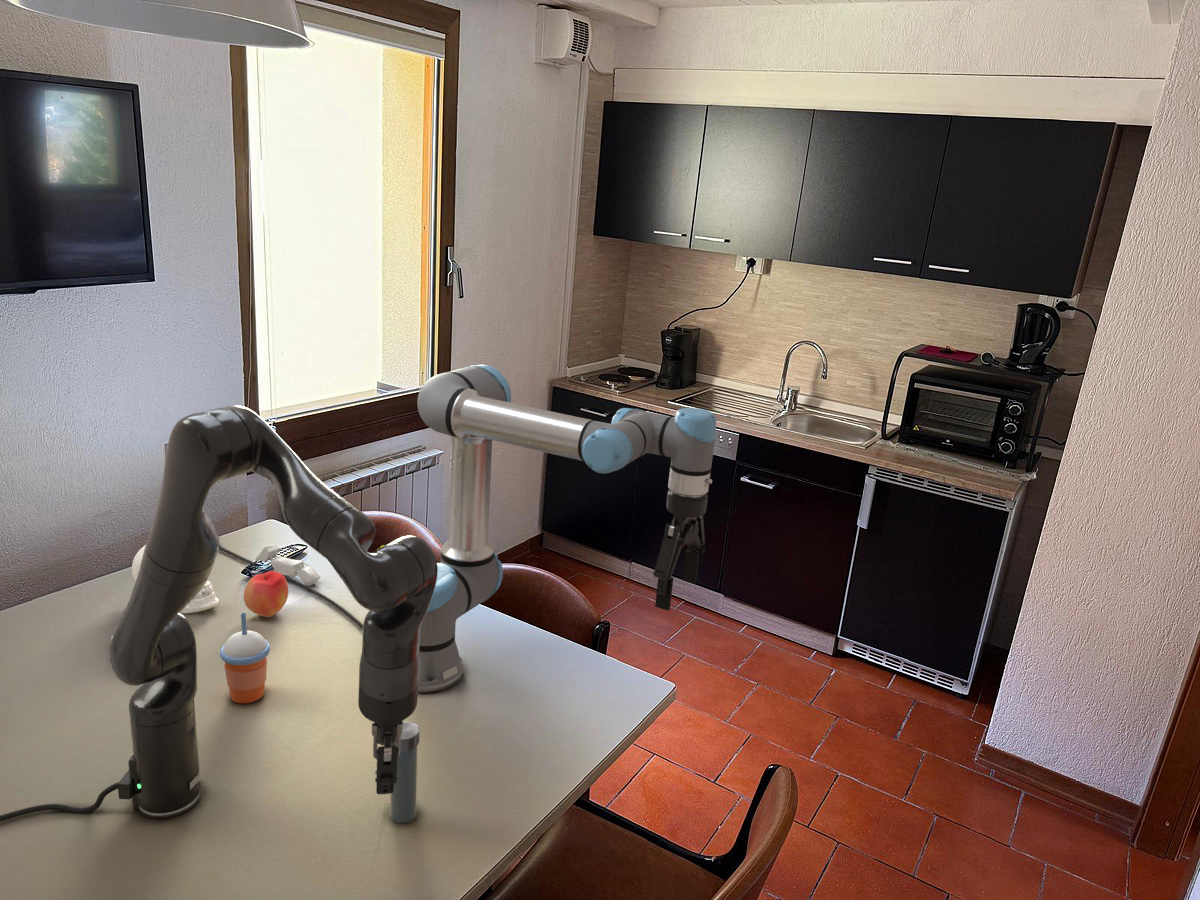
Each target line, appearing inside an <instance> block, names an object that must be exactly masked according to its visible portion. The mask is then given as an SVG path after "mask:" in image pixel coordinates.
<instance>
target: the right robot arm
mask: <svg viewBox="0 0 1200 900" xmlns="http://www.w3.org/2000/svg"><path fill="white" fill-rule="evenodd" d="M416 402H417V403H416V404H417V411H418V415H419V417H420V418H421V420H422V422H423V423H424V425H426V426H427V427H428V428H430V429H431V430H433V431H435V432H437V433H439V434H443V435H446V436H449V437H450V461H449V462H450V464H449V465H450V467H449V472H450V473H449V498H448V499H449V500H448V501H449V503H448V534H447V535H448V536H447V537H448V539H447V541H446V542H445V543H444V544H443V545H441V547H440V562H437V568H438V573H437V581H436V586H435V589H434V592H433V595H432V598H431V601H430V604H429V607H428V609H427V612H426V615H425V617H424V619H423V621H422V624H421V627H420V646H419V656H420V674H419V688H418V694H430V693H431V694H432V693H438V692H441V691H445V690H447V689H450V688H451V687H453V686H455V685H456V684H457V683H458V682H459V681H460V680H461V679H462V676H463V672H464V664H463V660H462V657H461V656H460V653H459V649H458V646H457V642H456V622H457V620H458V619H459V618H461V617H462V616H463V615H465V614H467V613H469V612H470V611H471V610H472V609H474V608H476V607H477V606H479V605H480V604H482V603H484V602H486V601H487V600H489V599H490V598H491V597H492V596H493V595H494V594H495V593H496V592H497V591H498V590H499V588H500V586H501V585H502V581H503V578H504V569H503V564H502V561H501V560H499V559H498V558H499V556H498V555H497V554H498V553H496V551H495V547H494V545H492V544H491V542H489V524H490V523H489V522H490V497H491V479H492V478H491V477H492V452H493V451H492V450H493V441H494V442H499V443H503V444H507V445H512V446H517V447H521V448H524V449H529V450H534V451H538V452H542V453H546V454H551V455H555V456H558V457H559V456H560V457H563V458H567V459H572V460H576V461H581V462H585V464H586V465H587V467H589V468H590V469H591V470H592V471H593V472H595V473H598V474H609V473H612V472H617V471H619V470H621V469H623V468H624V467H626V466H627V465H628V464H630V463H632V462H634V461H635V460H637V459H639V458H641V457H642V456H644V455H646V454H652V455H657V456H660V457H666V458H667V457H668V458H670V467H669V473H668V474H669V476H668V483H667V488H668V490H667V495H666V504H665V505H666V506H665V508H666V510H667V511H668V512H669V513H671V514H672V515H673V518H672V520H671V522H670V524H669V523H666V524H665V527H664V533H663V539H662V541H661V546H660V550H659V553H658V555H657V560H656V564H655V567H654V570H653V577H654V578H657V584H656V594H655V604H654V607H655V608H659V609H661V610H665V611H670V610H671V603H672V595H673V587H674V586H673V585H674V576H673V574H674V571H675V568H676V565H677V562H678V559H679V557H680V554H681V551H682V548H684V547H685V546H686V547H687V549H686V550H685V551H684V552H685V553H684V559H683V560H684V562H683V569H682V570H683V571H682V579H681V582H686V583H690V584H693V585H695V584H696V583H697V578H698V570H699V563H700V554H701V553H704V552H705V550H706V547H705V546H704V545H705V543H706V538H705V526H704V525H705V524H704V515H705V514H706V513H707V508H708V507H707V506H708V498H709V496H708V493H709V488H710V485H712V483H713V479H711V472H712V465H713V464H712V463H713V458H714V451H715V443H716V440H717V436H716V433H717V432H716V431H717V417H716V415H715V414H714V413H713V412H712V411H710V410H707V409H703V408H699V407H697V408H696V407H695V408H694V407H682V408H679V409H677V411H676V413H675V415H674V416H670V415H666V414H661V413H657V412H656V413H655V412H650V411H647V410H643V409H640V408H628V407H622V408H619V409H618V410H617V411H616V413H615V414H614V415H613V416H612V419H611V422H610V423H609V422H604V421H603V422H602V421H597V420H593V419H589V418H585V417H580V416H574V415H570V414H565V413H561V412H556V411H551V410H546V409H542V408H538V407H533V406H527V405H523V404H518V403H515V402H512V391H511V387H510V384H509V382H508V380H507V378H506V377H504V375H503V373H502V372H501V371H500V370H499V369H497V368H495V367H494V366H491V365H488V364H477V365H472V364H471V365H467V366H465V367H463V368H457V369H455V370H450V371H446V372H442V373H439V374H435V375H433V376H432V377H430V378H429V379H428V380H427V381H426V382H425V383H423V385H422V386H421V388H420V389H419V392H418V395H417V401H416ZM218 550H220V551H222V552H224V553H226V554H229V555H230V556H232V557H234V558H236V559H238V560H240V561H243V562H245V563H247V564H248V565H251V564H252V563H255V561H252V560H250V559H247V558H245V557H243V556H241V555H239V554H237V553H235V552H233V551H231V550H229V549H227V548H225V547H223V546H221V544H219V548H218ZM270 571H271V570H270ZM283 576H284V577H285V579H286V581H287V582H289V583H292V584H294V585H296V586H298V587H300V588H303V589H305V590H306V591H308V592H311V593H312V594H314V595H316V596H318V597H319V598H321V599H323V600H324V601H326V602H328V603H329V604H330V605H332V606H334V608H336V609H337V610H339V611H341V612H342V613H343V614H344V615H346V616H347V617H348V618H349V619H351V621H353V622H355V624H356V625H357V626H359V627H360V628H361V629H362V630H363V622H361V621H360V620H359V619H357V618H356V617H355V616H354V615H353V614H352V613H350V612H349V611H347V610H346V609H345V608H344V607H343V606H341V605H339V604H338V603H337V602H335V601H334V600H332V599H331V598H329V597H327V596H326V595H325V594H323V593H321V592H320V591H318V590H316V589H313V588H311V587H309V586H306V585H305V584H304V583H302V582H300V581H297V580H295V579H293V578H291V577H290V576H287V575H283Z"/></svg>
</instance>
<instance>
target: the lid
mask: <svg viewBox="0 0 1200 900" xmlns="http://www.w3.org/2000/svg"><path fill="white" fill-rule="evenodd" d="M420 734H421V732H420V727H419V725H418V724H416V723H415V722H412V721H403V733H402V734H401V740H400V751H402V752H403V751H410V750H412V749H414V748H415V747H417V748H418V745H419V743H420V737H421V736H420ZM392 746H396V740H395V742H394V744H392Z"/></svg>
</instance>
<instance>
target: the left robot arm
mask: <svg viewBox="0 0 1200 900" xmlns="http://www.w3.org/2000/svg"><path fill="white" fill-rule="evenodd" d="M250 472H251V473H254V474H256V475H259V476H260V477H262V478H264V479H265V480H267V481H268V482H270V484H271V485H273V487H274V488H275V489H276V493H277V495H278V500H279V504H280V509H281V512H282V515H283V517H284V520H285V522H286V524H287V526H288V527H289V529H290V530H292V532H293V533H294V534H295V535H296V536H297V537H298V538H299V539H300V540H302V541H303V542H304V543H305V544H307V545H308V546H309V547H310V548H311V549H313V550H314V551H315V552H317V553H318V554H319V555H321V556H322V557H323V558H324V559H326V560H327V562H328V563H329V564H330V566H332V568H333V569H334V572H336V574H337V575H338V576H339V577H340V580H341V581H342V582H343V584H344V585H345V586H346V589H347V590H348V591H349V593H350V594H351V596H352V598H353V599H354V601H356V602H357V604H359V606H361V607H363V608H364V609H365V610H368V612H367V613H366V615H365V617H364V618H363V619H364V620H363V622H362V624H363V629H362V640H361V642H362V643H361V654H360V658H359V659H360V660H359V671H358V699H357V700H358V702H357V703H358V704H357V705H358V709H359V711H360V713H361V714H362V716H363V717H364V718H365V719H367V720H369V721H371V736H372V737H373V741H372V742H373V743H372V756H373V758H374V759H375V760H376V769H375V770H374V772H375V773H374V775H376V776H375V780H374V782H375V783H376V784H375V785H376V790H375V792H376V794H377V795H391V793H393V791H394V784H396V781H397V777H396V774H397V758H398V757H399V756H400V740H401V734H402V733H403V722H404V721H405V720H406V719H408V718H409V717H410V716H411V715H412V714H413V713H414V712H415V710H416V708H417V706H418V703H419V701H418V700H419V693H418V688H419V674H420V656H419V646H420V627H421V624H422V621H423V619H424V617H425V615H426V612H427V609H428V607H429V604H430V601H431V598H432V595H433V592H434V589H435V586H436V581H437V573H438V568H437V563H438V562H437V557H436V555H435V552H434V550H433V548H432V547H431V545H430V544H429V542H427V541H426V540H425V539H423V538H422V537H419V536H416V535H403V536H400V537H398V538H396V539H394V540H392V541H390V542H388V543H387V544H385V545H384V546H383V547H381V546H380V547H381V548H380V547H379V548H380V549H379V548H377V549H378V550H377V549H376V550H374V551H373V552H369V551H368V550H369V549H370V547H371V546H372V544H373V542H374V540H375V536H376V526H375V523H374V522H373V521H372V519H371V518H370V517H369V516H368V515H366V513H364V512H362V511H361V510H360V509H358V508H357V507H356V506H355V505H354V504H352V503H350V502H349V501H348V500H347V499H345V498H344V497H343V496H342V495H340V494H338V493H337V492H335V491H334V490H333V489H332V488H330V487H329V486H328V485H327V484H326V483H324V482H323V481H322V480H321V479H320V478H319V477H318V476H317V475H316V474H315V473H314V472H313V471H312V470H311V469H310V468H309V467H308V465H306V464H305V463H304V462H303V461H302V459H301V458H300V457H299V456H298V455H297V454H296V452H294V451H293V450H292V448H291V447H290V446H289V445H288V444H287V443H286V442H285V441H284V440H283V439H282V438H281V437H280V436H279V435H278V433H276V431H275V430H274V429H273V428H272V427H271V426H270V425H269V424H268V422H266V421H265V420H264V419H263V418H262V417H261V416H259V415H258V413H256V412H255V411H254V410H252V409H250V408H248V407H246V406H242V405H227V406H223V407H218V408H214V409H210V410H209V409H208V410H205V411H201V412H200V411H199V412H196V413H192V414H188V415H187V416H184V417H182V418H181V419H179V420H177V422H176V423H175V425H174V426H173V427H172V430H171V431H170V435H169V439H168V442H167V446H166V453H165V460H164V468H163V474H162V481H161V489H160V493H159V498H158V502H157V506H156V509H155V515H154V518H153V521H152V525H151V527H150V528H151V529H150V531H149V535H148V537H147V540H146V543H145V545H146V546H145V545H144V546H145V550H144V553H143V557H142V561H141V566H140V570H139V573H138V577H137V580H136V583H135V582H134V586H133V588H132V592H131V595H130V598H129V600H128V603H127V605H126V608H125V610H124V611H123V614H122V616H121V618H120V620H119V622H118V625H117V626H116V628H115V630H114V633H113V635H114V636H113V639H112V643H111V642H110V651H109V657H110V664H111V667H112V670H113V673H114V674H115V676H116V678H118V680H119V681H120V682H122V683H124V684H125V685H129V686H135V687H136V686H139V687H138V689H136V690H135V691H134V692H133V694H132V695H131V696H130V699H129V703H128V713H129V722H130V732H131V742H132V751H133V752H132V753H133V754H132V755H131V756H130V758H129V759H128V763H127V764H128V770H127V772H126V773H125V774H124V775H123V776H122V777H121V779H120V780H119V781H118V782H116V783H113V784H111V785H109V786H107V787H106V788H105V789H103V790H102V791H101V792H100V793H99V794H98V796H97V798H96V800H95V802H94V804H92V805H88V806H86V807H76V806H71V805H66V804H61V803H46V804H40V805H35V806H34V805H33V806H30V807H25V808H22V809H18V810H14V811H11V812H8V813H3V814H0V822H3V821H7V820H11V819H13V818H17V817H21V816H25V815H28V814H32V813H37V812H43V811H44V812H45V811H60V812H64V813H70V814H80V815H82V814H83V815H84V814H89V813H92V812H94V811H96V810H98V809H99V808H100V807H101V805H102V804H103V801H104V799H105V798H106V797H107V795H109V794H110V793H112V792H114V791H116V790H117V792H118V793H117V794H118V799H119V800H131V802H132V810H133V811H138V812H139V813H140V814H141V815H142V816H144V817H147V818H149V819H155V820H163V819H170V818H173V817H176V816H180V815H182V814H184V813H186V812H188V811H189V810H191V809H192V808H194V806H196V805H197V804H198V802H199V801H200V800H201V797H202V792H203V791H202V783H201V773H200V761H199V746H198V733H197V720H196V709H195V708H196V707H195V697H196V695H197V691H198V651H197V650H198V648H197V640H196V635H195V631H194V628H193V626H192V625H191V623H190V621H189V620H188V618H187V617H186V615H185V614H183V613H180V612H181V611H182V610H183V609H184V608H185V607H186V606H187V605H188V604H189V603H190V602H191V600H192V599H193V598H194V597H196V595H197V594H198V593H199V591H200V590H201V589H202V588H203V586H204V585H205V583H206V582H207V580H208V581H209V578H210V575H211V574H212V570H213V568H214V564H215V562H216V560H217V559H216V558H217V556H218V553H219V545H220V539H219V534H218V531H217V529H216V526H215V524H214V523H213V521H212V520H211V519H210V517H209V516H208V514H207V513H206V511H205V510H204V508H205V504H206V501H207V497H208V495H209V493H210V491H211V489H212V487H214V485H215V484H216V483H218V482H221V481H224V480H227V479H230V478H233V477H237V476H240V475H245V474H247V473H250ZM210 573H211V574H210ZM197 596H198V595H197ZM193 600H194V599H193ZM395 740H396V746H392V744H394V742H395ZM378 745H380V746H378Z"/></svg>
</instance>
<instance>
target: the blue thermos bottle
mask: <svg viewBox="0 0 1200 900" xmlns="http://www.w3.org/2000/svg"><path fill="white" fill-rule="evenodd" d="M396 777H397V781H396V784H394V791H393V793H391V794H390V804H389V805H390V811H389V812H390V819H391V821H393V822H395V823H397V824H407V823H410V822H411V821H413V820H414V819H415V818H416V816H417V800H418V799H417V796H418V794H417V793H418V792H417V791H418V746H417V747H415V748H414V749H412V750H410V751H403V752H402V751H400V756H399V757H398V758H397V774H396Z"/></svg>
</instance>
